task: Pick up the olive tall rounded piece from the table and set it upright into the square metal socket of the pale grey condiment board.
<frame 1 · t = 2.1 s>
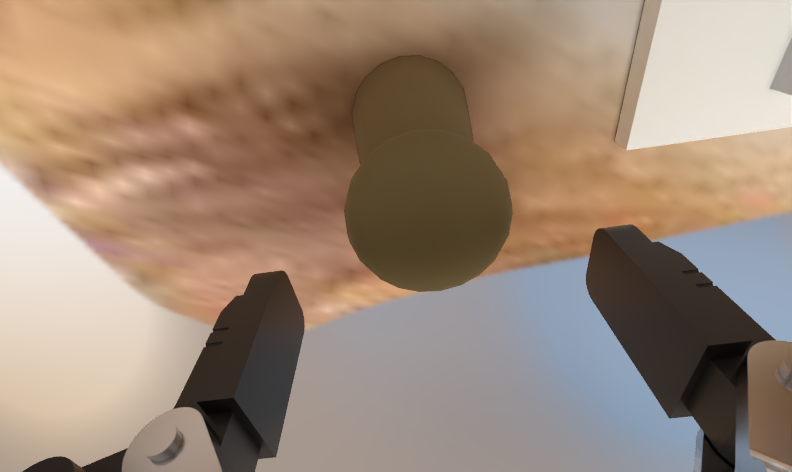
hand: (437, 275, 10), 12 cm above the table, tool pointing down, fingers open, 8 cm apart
olive tall rounded piece: (409, 117, 19), on the table
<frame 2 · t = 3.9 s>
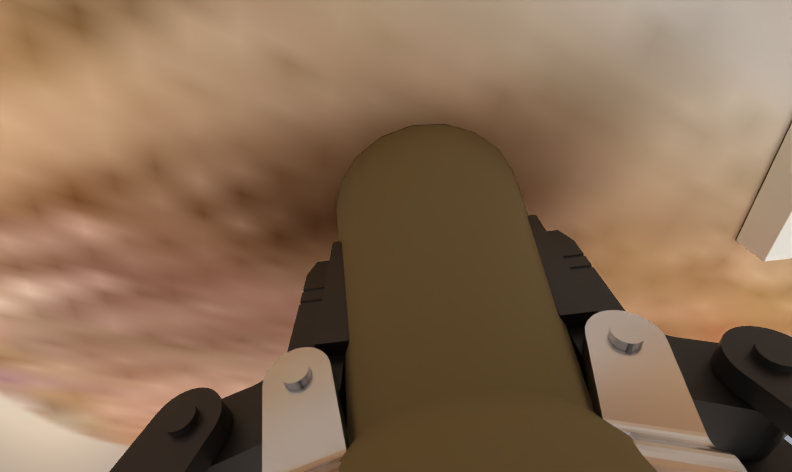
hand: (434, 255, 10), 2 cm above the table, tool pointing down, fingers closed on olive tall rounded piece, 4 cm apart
olive tall rounded piece: (426, 210, 12), on the table, touching gripper
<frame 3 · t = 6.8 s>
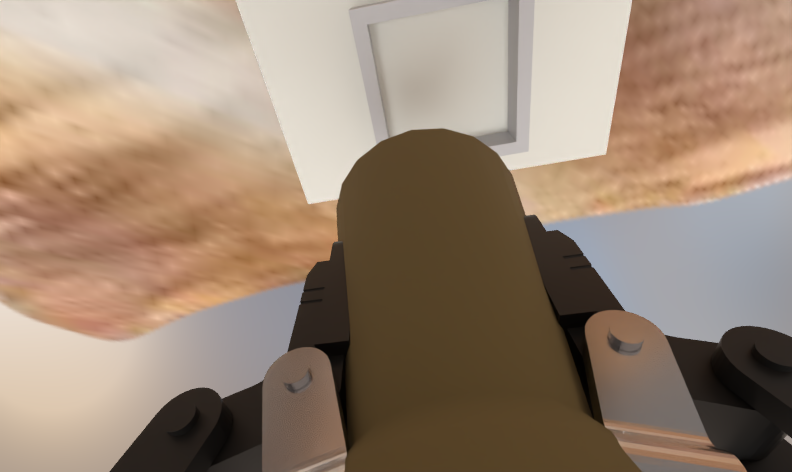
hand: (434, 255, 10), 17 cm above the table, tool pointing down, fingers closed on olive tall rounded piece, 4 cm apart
olive tall rounded piece: (426, 213, 13), point 15 cm above the table, touching gripper
condiment board: (441, 76, 24), on the table
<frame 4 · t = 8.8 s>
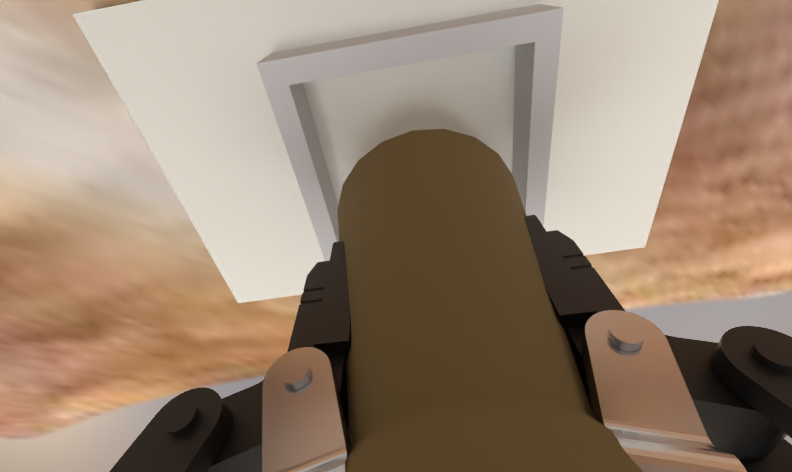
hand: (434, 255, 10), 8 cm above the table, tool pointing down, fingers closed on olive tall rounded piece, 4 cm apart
olive tall rounded piece: (427, 213, 13), point 5 cm above the table, touching gripper
condiment board: (416, 144, 17), on the table
when the fingers open (6 cm above the table, at t = 10.0 s): olive tall rounded piece drops 2 cm, resting on condiment board.
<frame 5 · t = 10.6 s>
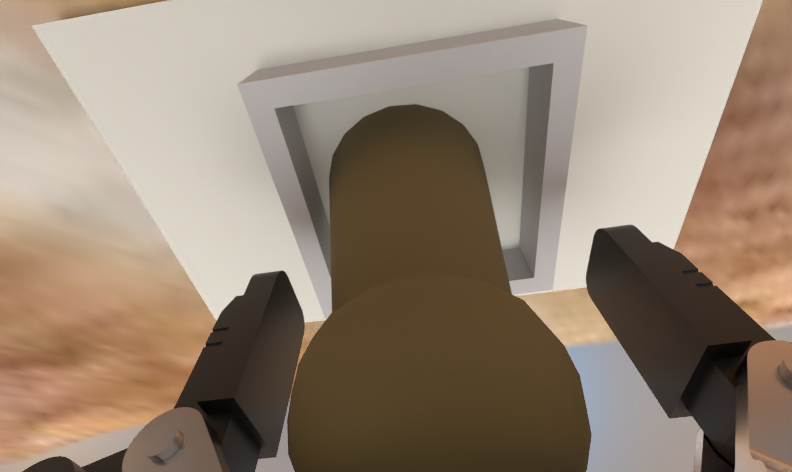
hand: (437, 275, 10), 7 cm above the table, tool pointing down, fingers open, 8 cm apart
olive tall rounded piece: (406, 180, 15), point 1 cm above the table, touching condiment board
condiment board: (417, 167, 15), on the table
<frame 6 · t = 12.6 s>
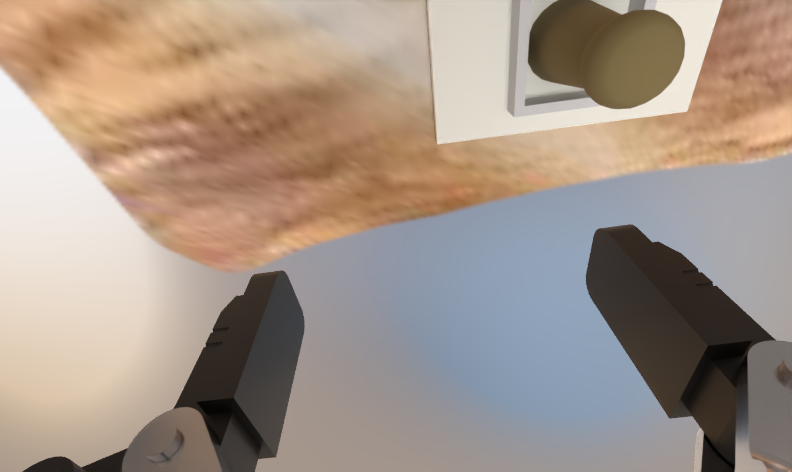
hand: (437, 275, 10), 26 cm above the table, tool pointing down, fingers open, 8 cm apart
olive tall rounded piece: (563, 41, 29), point 1 cm above the table, touching condiment board
condiment board: (565, 38, 30), on the table
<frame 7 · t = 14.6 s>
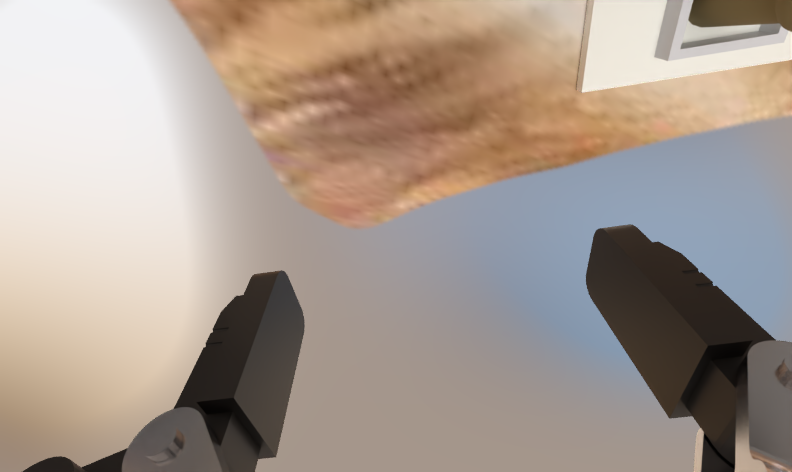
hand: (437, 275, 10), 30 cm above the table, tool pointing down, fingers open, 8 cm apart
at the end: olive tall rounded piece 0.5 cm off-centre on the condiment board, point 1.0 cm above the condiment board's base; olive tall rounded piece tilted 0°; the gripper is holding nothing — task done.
